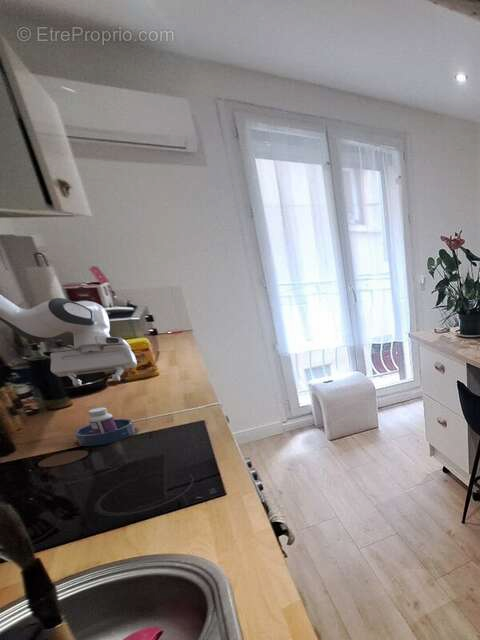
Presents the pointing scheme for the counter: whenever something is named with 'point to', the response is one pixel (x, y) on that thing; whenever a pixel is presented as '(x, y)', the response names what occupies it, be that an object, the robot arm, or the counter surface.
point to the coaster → (63, 458)
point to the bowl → (90, 439)
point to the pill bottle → (101, 421)
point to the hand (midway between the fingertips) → (97, 382)
